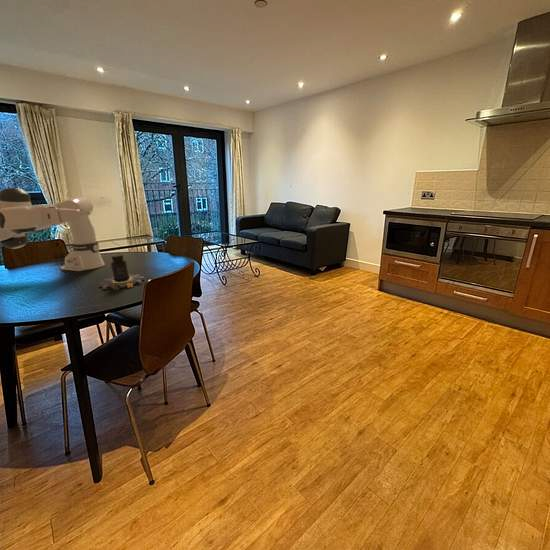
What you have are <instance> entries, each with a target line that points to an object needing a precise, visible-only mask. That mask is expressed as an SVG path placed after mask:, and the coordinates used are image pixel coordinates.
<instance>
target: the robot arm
mask: <svg viewBox="0 0 550 550" xmlns="http://www.w3.org/2000/svg"><path fill="white" fill-rule="evenodd" d="M93 211H94V205H93V203H92V201H90V200H89V199H88V198H85V197H81V196H78V197H72V198H67V199H65V200H62V201H58V202H54V203H47V204H45V203H44V204H35V205H32V202H31V194H29V193H28V191H25V190H24V189H22V188H19V187H9V188H8V187H7V188H4V189H1V190H0V246H1V245H2V246H3V247H4V248H6V249H11V250H15V249H20V248H22V247H25V245H26V244H28V243H29V239H28V236H27V235H26V234H27V233H31V234H32V233H35V232H36V231H41V230H44V229H48V228H51V227H56V226H59V225H62V224H65V223H66V224H67V225H68V227H69V229H70V232H71V236H72V240H73V244H71V245H70V248H72V250H71V252H70V253H68V254H67V255H66V256H65V258H64V265H62V266H61V267H60V269H61V270H64V271H73V272H74V271H75V272H81V271H87V270H92V269H93V270H94V269H97V268H98V269H99V268H101V267H104V266H105V265H106V264H105V262H104V260H103V257H102V255H101V252H100V246H99V241H98V240H97V235H96V232H95V231H96V230H95V227H94V226H93V224H92V222H91V220H90V217H89V216H90V215H91V214H92V212H93Z"/></svg>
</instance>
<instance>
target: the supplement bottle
mask: <svg viewBox="0 0 550 550" xmlns="http://www.w3.org/2000/svg"><path fill="white" fill-rule="evenodd" d="M110 268H111V272H112V278H114V281H116V282H121V281H126V280H128V279H129V278H130V277H129V274H130V273H129V267H128V263H127V261H126V260H125V259H124V255H123V254H114V255H111V262H110Z"/></svg>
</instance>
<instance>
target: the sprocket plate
mask: <svg viewBox="0 0 550 550" xmlns="http://www.w3.org/2000/svg"><path fill="white" fill-rule="evenodd" d="M129 277H130V278H129V279H128V280H126V281H121V282H116V281H114V278H113V277H110V278H105V279H104V280H102V282H100V283H99V287H100V288H102V290H104V289H106V291H107V289H108V290H113V291H120V289H125V287H126V288H127V289H130V287H131V288H133V287H134V286H136V285H141V284H143V283H142V282H143V281H142V280H144V281H145V276H142V275H141V274H131V273H129ZM135 284H136V285H135ZM133 285H134V286H133Z"/></svg>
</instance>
